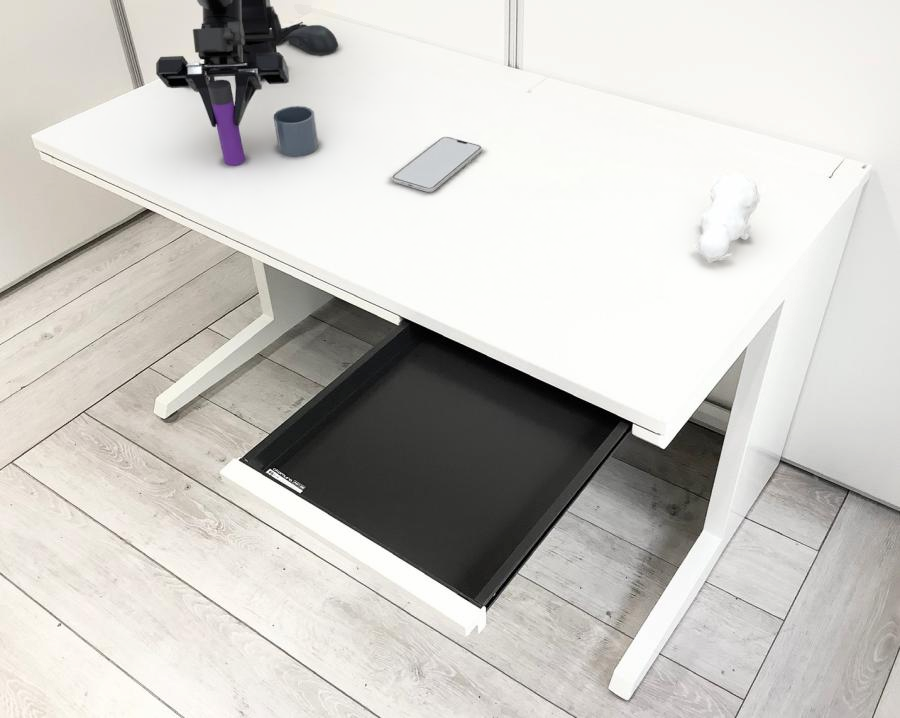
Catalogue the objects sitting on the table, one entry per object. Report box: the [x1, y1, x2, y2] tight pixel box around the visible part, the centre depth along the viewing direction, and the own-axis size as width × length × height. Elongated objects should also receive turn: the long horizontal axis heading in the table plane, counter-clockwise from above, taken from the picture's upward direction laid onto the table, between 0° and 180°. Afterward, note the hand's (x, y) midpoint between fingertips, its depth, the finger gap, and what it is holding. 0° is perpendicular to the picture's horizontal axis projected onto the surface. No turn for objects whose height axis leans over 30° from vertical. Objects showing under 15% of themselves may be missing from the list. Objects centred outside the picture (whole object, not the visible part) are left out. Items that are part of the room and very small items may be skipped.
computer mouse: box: [275, 21, 339, 56], centre depth 172 cm, size 10×15×4 cm
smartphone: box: [391, 136, 482, 193], centre depth 135 cm, size 7×1×15 cm
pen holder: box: [273, 105, 319, 158], centre depth 140 cm, size 6×6×6 cm
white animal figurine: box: [694, 172, 761, 264], centre depth 115 cm, size 6×8×12 cm
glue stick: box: [208, 79, 246, 167], centre depth 134 cm, size 3×3×12 cm
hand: (225, 125), depth 133 cm, fingers closed on glue stick, 3 cm apart
